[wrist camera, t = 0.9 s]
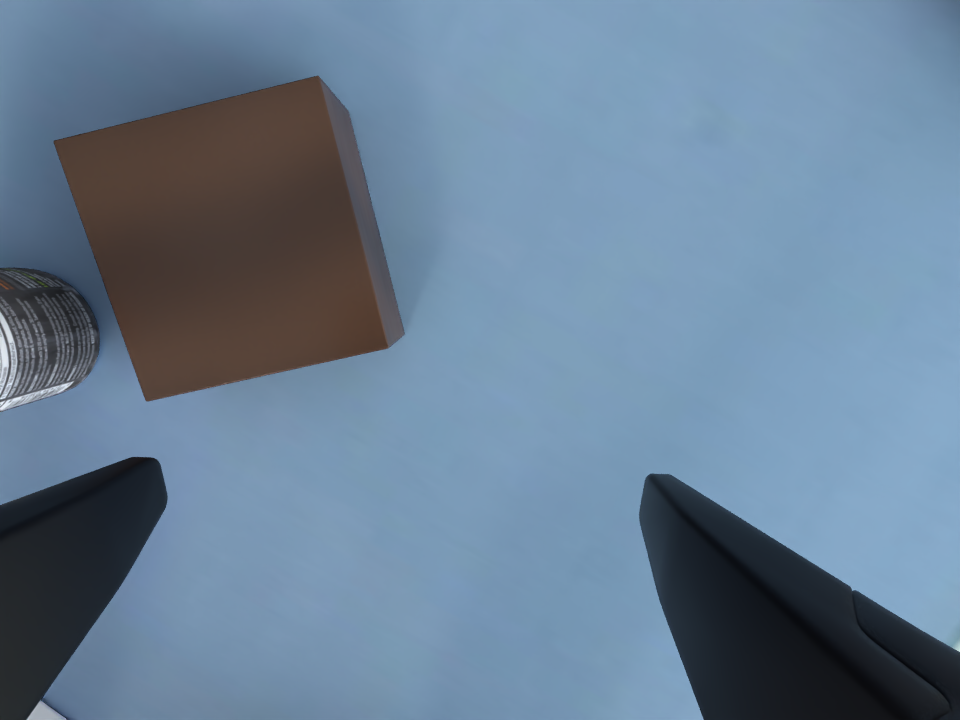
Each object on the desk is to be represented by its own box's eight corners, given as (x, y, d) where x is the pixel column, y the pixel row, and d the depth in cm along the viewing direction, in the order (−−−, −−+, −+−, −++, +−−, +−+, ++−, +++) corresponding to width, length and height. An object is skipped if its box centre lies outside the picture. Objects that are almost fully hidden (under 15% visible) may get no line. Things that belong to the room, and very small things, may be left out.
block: (404, 334, 23) (389, 348, 19) (201, 379, 24) (145, 402, 20) (348, 110, 21) (318, 74, 17) (129, 163, 22) (52, 140, 18)
